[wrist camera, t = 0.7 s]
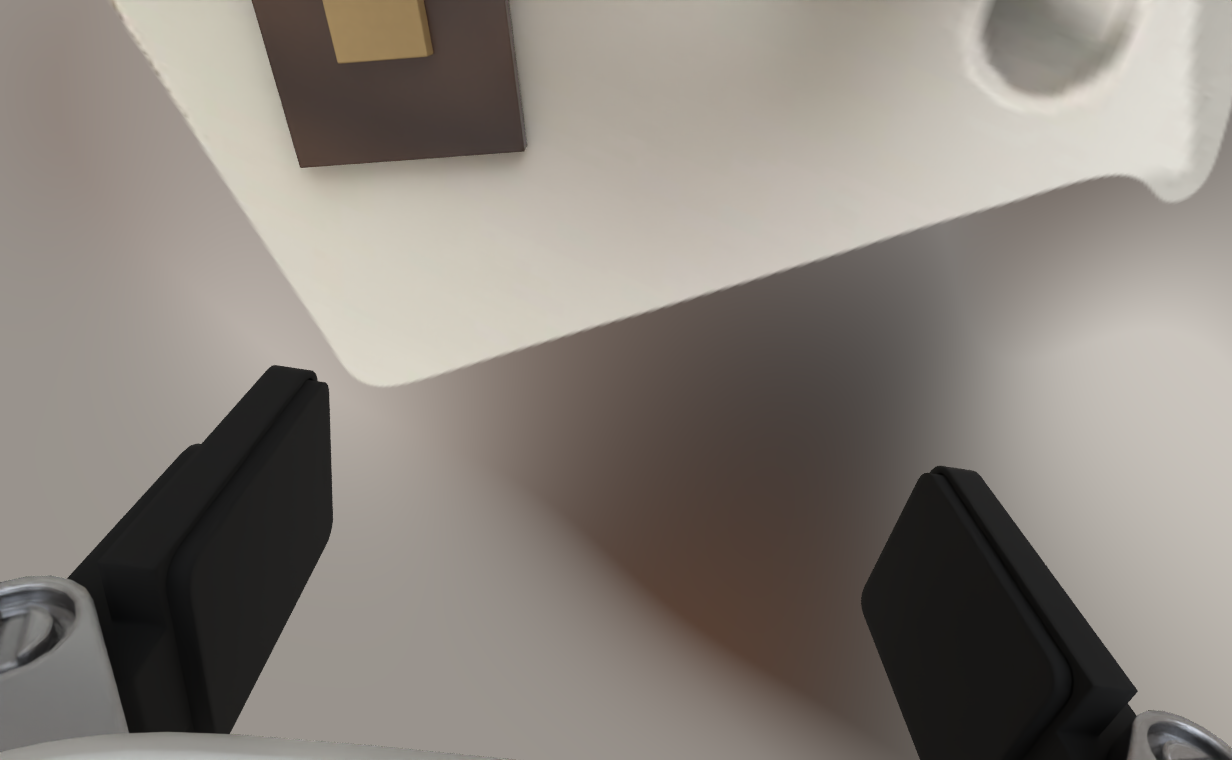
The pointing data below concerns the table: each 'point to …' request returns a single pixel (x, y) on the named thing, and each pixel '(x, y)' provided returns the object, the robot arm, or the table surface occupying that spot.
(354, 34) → the tan rectangular block
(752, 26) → the table surface
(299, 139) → the board
